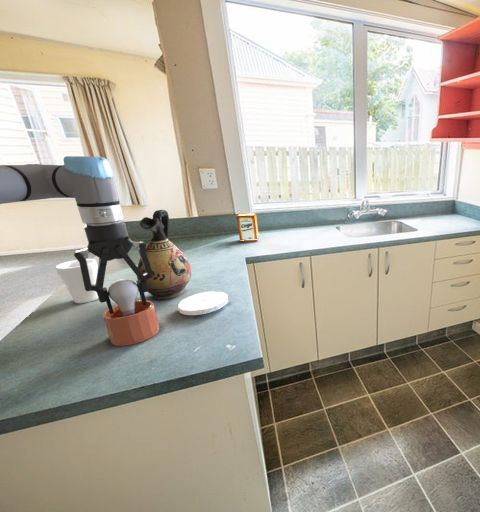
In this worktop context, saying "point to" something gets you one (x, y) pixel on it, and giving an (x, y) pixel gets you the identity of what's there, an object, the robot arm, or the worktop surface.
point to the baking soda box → (247, 227)
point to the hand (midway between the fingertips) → (128, 307)
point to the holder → (131, 324)
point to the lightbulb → (124, 295)
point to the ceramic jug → (164, 260)
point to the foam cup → (78, 279)
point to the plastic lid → (202, 303)
